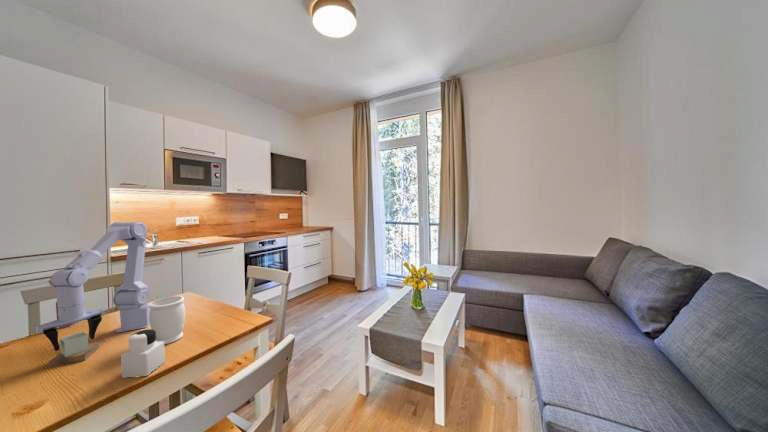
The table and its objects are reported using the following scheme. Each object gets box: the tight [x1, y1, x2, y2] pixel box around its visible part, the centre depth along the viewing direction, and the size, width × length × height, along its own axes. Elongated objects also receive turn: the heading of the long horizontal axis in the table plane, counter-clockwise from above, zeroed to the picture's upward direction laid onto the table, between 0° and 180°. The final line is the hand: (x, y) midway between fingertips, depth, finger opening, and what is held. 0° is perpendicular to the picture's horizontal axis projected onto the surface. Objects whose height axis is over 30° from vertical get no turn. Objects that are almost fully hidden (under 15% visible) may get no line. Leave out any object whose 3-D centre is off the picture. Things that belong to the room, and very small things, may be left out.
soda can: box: [55, 300, 78, 329], centre depth 107 cm, size 5×5×12 cm
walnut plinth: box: [48, 342, 100, 368], centre depth 85 cm, size 8×8×2 cm
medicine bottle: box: [120, 328, 166, 379], centre depth 78 cm, size 7×7×12 cm
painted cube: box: [59, 331, 89, 357], centre depth 85 cm, size 5×5×5 cm
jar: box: [148, 295, 186, 345], centre depth 96 cm, size 11×10×15 cm
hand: (75, 343), depth 85 cm, fingers open, 7 cm apart
